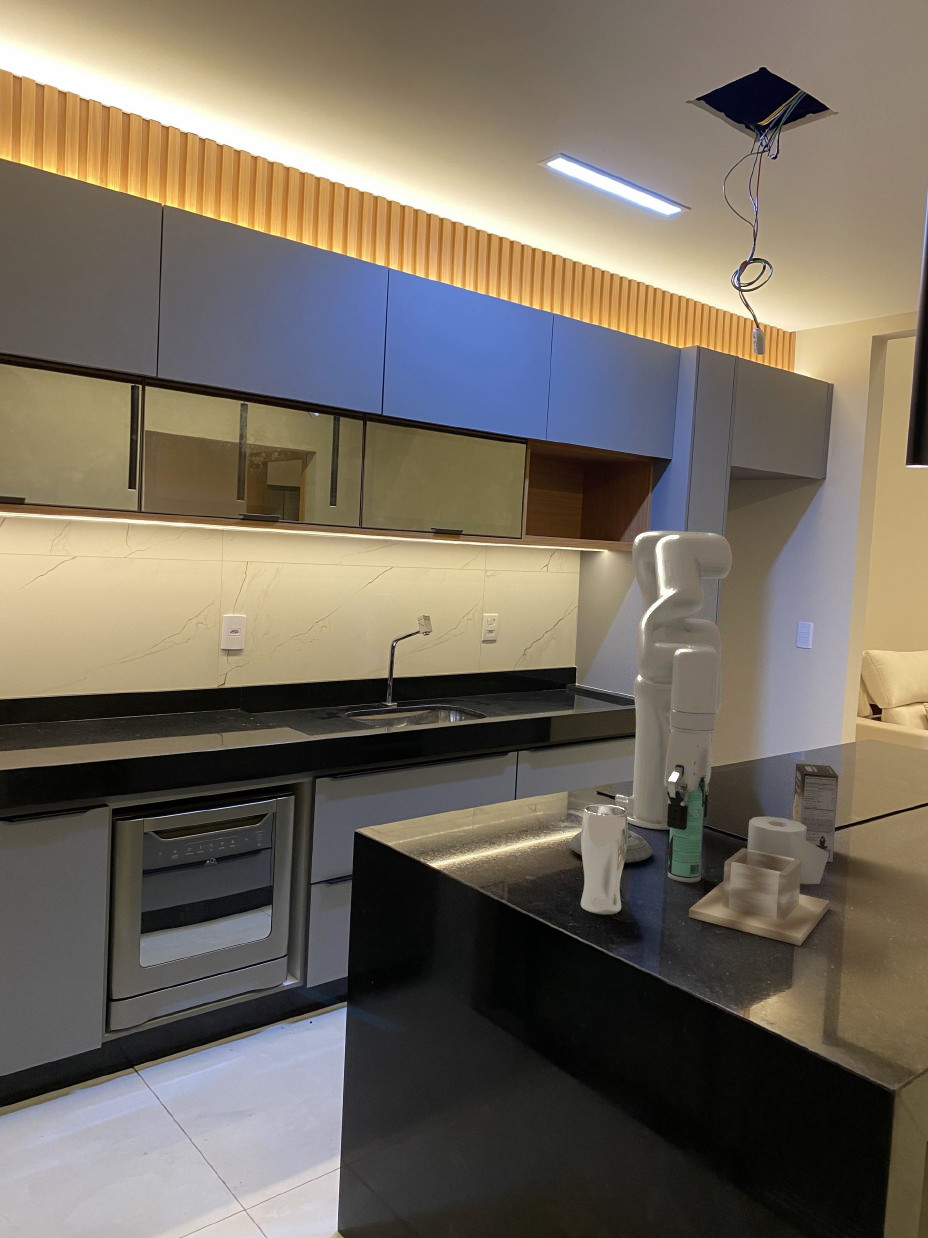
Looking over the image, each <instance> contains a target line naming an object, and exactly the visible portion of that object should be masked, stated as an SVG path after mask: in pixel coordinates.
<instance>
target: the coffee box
mask: <svg viewBox="0 0 928 1238" xmlns="http://www.w3.org/2000/svg"><path fill="white" fill-rule="evenodd" d="M839 778H840V777H839V775H838V774H837V773H836V771H835V769H833V767H832V766H831V765H824V764H823V765H821V764H810V763H809V764H808V763H795V777H794V789H793V790H794V791H793V792H794V793H793V794H794V795H793V806H792V807H793V808H792V809H793V810H792V820H793V821H797V822H800V823H801V824H803V825H805V826H806V827H807V832H806V841H808V842H809V843H811V844H813V845H815V846H817V847H819V848H820V849H822V850H824V851H826V852H828V853H829V855H828V859H827V862H828V863H829V862H830V863H833V861H834V859H833V858H834V846H835V833H836V832H835V830H836V820H837V819H836V817H837V803H838V794H839V793H838V791H839V790H838V789H839ZM827 862H826V863H827Z"/></svg>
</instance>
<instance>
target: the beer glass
mask: <svg viewBox="0 0 928 1238" xmlns="http://www.w3.org/2000/svg"><path fill="white" fill-rule="evenodd" d="M627 813H628V811H627V808H624V807H622V806H618V805H615V804H614V805H613V804H603V803H602V804H601V803H597V804H596V803H594V804H588V805H586V806H584V808H583V814H582V823H581V830H580V832H581V850H582V855H581V857H582V858H581V859H582V865H583V875H584V877H583V878H584V885H583V892H582V895H581V900H580V907H581V908H582V909H583V910H585V911H587V912H589V913H592V914H595V915H614V914H618V913H619V912H620V911H621V910H622V902H621V895H620V894H621V892H620V887H621V877H622V873H623V869H624V865H625V863H624V861H625V856H626V851H627V842H628V830H629V825H628V823H629V822H628V817H627Z"/></svg>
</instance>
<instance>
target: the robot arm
mask: <svg viewBox="0 0 928 1238" xmlns="http://www.w3.org/2000/svg"><path fill="white" fill-rule="evenodd" d="M631 554H632V555H631V556H632V567H633V571H634V574H635V578H636V581H637V585H638V588H639V590H640V591H639V592H640V595H641V619H640V621H639V623H638V626H637V630H636V640H635V642H636V644H635V646H636V648H635V649H636V661H637V662H636V663H637V664H636V665H637V672H638V675H637V676H636V677H635V678H634V684H633V697H634V707H635V745H634V746H635V747H634V762H633V766H634V767H633V768H634V769H633V780H632V781H633V785H632V795H630V796H626V795H622V794H619V793H618V794H616V795H615V797H614V802H615V806H618V807H623V808H624V807H625V809H626V810H627V811H628V813H627V817H628V823H629V824H631V825H634V826H636V827H640V828H645V829H650V830H651V829H653V830H664V831H665V830H669V831H670V827H671V828H676V829H680V830H685V829H686V828H687V815H688V806H687V805H686V802H687V799H688V795H689V792H693V791H695V790H697V788H698V785H699V782H700V780H701V779H700V778H701V777H703V776H705V775H706V778H705V779H706V797H705V814H704V819H705V818H707V816H708V805H709V803H708V802H709V791H710V788H709V782H710V780H711V774H712V773H711V772H712V759H713V758H712V756H713V755H712V752H713V748H712V744H713V743H712V741H713V740H712V739H713V738H712V734H714V733H716V731H717V715H718V714H719V712H720V710H721V707H722V701H723V700H722V699H723V698H722V697H723V695H722V693H723V686H722V681H723V680H722V679H723V678H722V677H723V673H722V640H721V639H722V638H721V633H720V630H719V627H718V625H716V623H715V622H713V621H712V620H708V619H704V618H703V619H701V618H690V617H692V616H694V615H696V614H697V613H699V611H701V609H702V608H703V607H704V605H705V598H706V597H705V591H704V590H705V589H704V582H703V579H706V580H707V579H710V580H711V579H713V580H717V579H718V580H722V579H725V578H726V577H728V575H729V574H730V572H731V569H732V565H733V553H732V549H731V545H730V542H729V541H728V540H727V538H726V537H724V535H720V534H718V533H715V532H714V533H713V532H703V531H699V532H698V531H679V530H648V531H644V532H641V533H639V534H638V535H637V536H636V537H635V538H634V540H633V543H632V552H631ZM683 775H684V776H683ZM678 785H679V786H678ZM684 786H685V787H684ZM680 792H682V793H683V795H682V796H681V794H680Z"/></svg>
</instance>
